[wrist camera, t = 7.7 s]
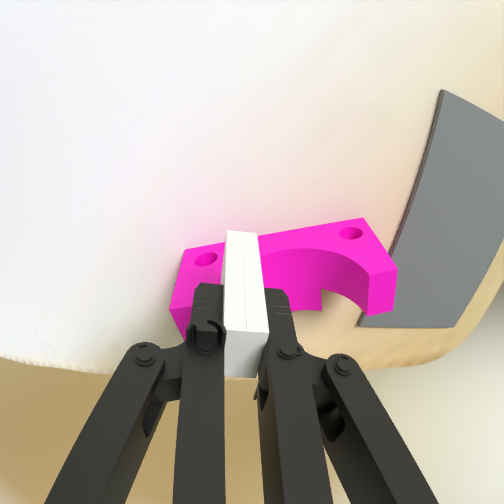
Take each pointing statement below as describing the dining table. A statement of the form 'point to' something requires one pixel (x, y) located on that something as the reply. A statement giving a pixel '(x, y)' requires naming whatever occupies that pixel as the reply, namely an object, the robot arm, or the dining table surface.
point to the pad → (449, 219)
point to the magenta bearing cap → (302, 268)
